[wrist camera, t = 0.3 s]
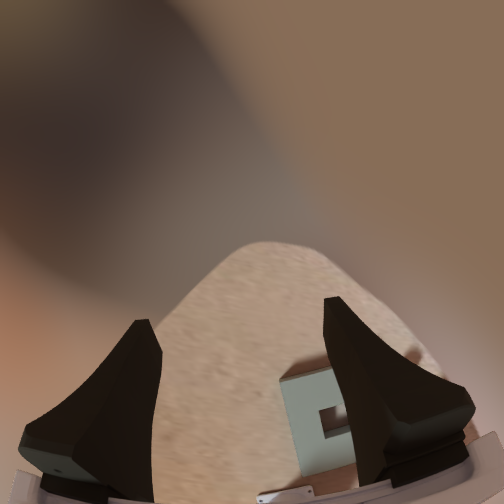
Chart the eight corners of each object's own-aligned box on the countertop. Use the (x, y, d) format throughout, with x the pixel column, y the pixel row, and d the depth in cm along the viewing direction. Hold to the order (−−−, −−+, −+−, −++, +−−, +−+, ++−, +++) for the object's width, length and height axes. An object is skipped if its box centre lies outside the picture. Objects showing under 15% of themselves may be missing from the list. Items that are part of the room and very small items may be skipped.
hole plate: (382, 444, 37) (389, 450, 34) (300, 468, 37) (302, 477, 34) (365, 355, 40) (371, 356, 37) (279, 379, 40) (279, 382, 38)
